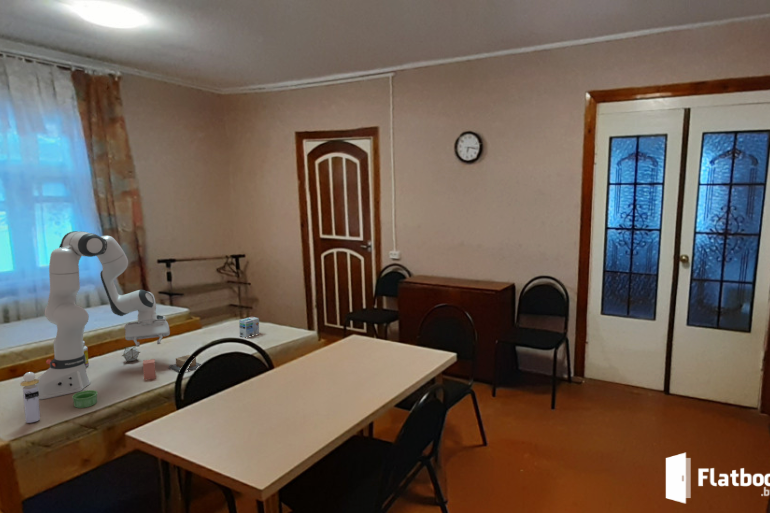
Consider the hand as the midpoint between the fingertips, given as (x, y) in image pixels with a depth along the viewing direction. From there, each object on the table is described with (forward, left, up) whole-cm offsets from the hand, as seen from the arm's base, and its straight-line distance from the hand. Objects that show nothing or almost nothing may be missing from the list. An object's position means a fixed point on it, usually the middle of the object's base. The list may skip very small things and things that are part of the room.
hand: (148, 344), depth 238 cm
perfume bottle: (-54, -21, -13) cm, 60 cm away
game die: (0, +19, -13) cm, 23 cm away
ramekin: (-35, -19, -13) cm, 42 cm away
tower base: (+14, -11, -13) cm, 22 cm away
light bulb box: (+68, +11, -13) cm, 70 cm away
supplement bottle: (-20, +30, -13) cm, 39 cm away
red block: (-4, -10, -13) cm, 17 cm away
